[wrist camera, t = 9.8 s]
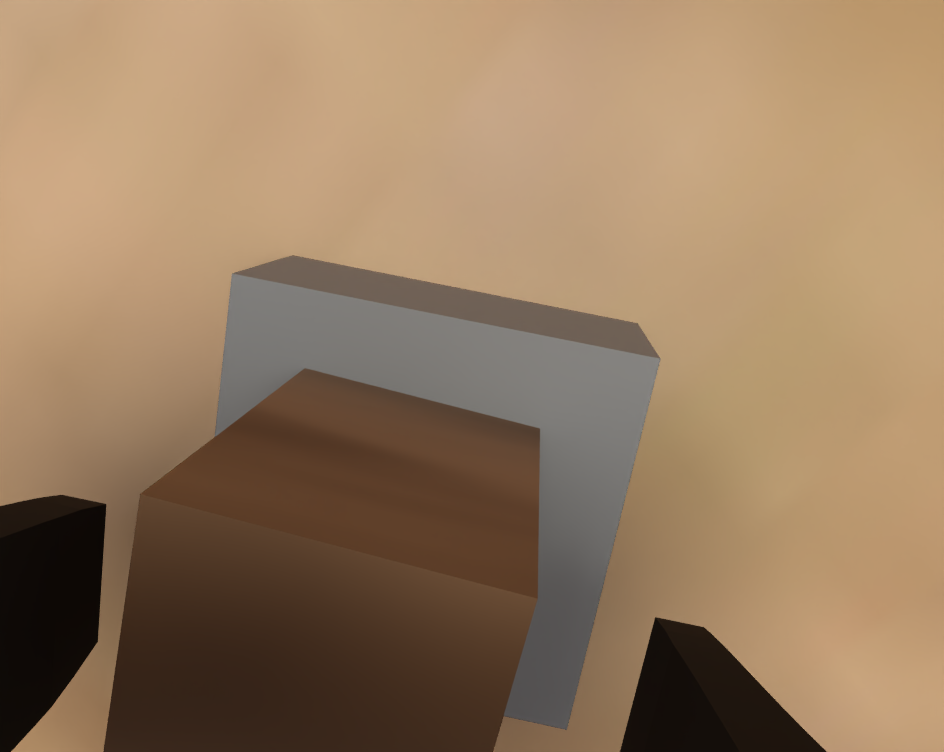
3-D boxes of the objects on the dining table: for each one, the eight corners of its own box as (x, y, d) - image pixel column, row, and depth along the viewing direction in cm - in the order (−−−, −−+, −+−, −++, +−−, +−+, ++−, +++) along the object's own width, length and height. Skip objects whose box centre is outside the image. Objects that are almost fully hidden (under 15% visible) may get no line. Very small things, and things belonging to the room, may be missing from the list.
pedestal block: (562, 624, 18) (566, 729, 14) (258, 559, 18) (192, 646, 15) (635, 320, 16) (660, 358, 12) (297, 254, 16) (232, 273, 13)
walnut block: (482, 638, 14) (444, 918, 9) (264, 579, 14) (92, 821, 9) (540, 428, 13) (537, 599, 8) (304, 367, 13) (140, 493, 8)
